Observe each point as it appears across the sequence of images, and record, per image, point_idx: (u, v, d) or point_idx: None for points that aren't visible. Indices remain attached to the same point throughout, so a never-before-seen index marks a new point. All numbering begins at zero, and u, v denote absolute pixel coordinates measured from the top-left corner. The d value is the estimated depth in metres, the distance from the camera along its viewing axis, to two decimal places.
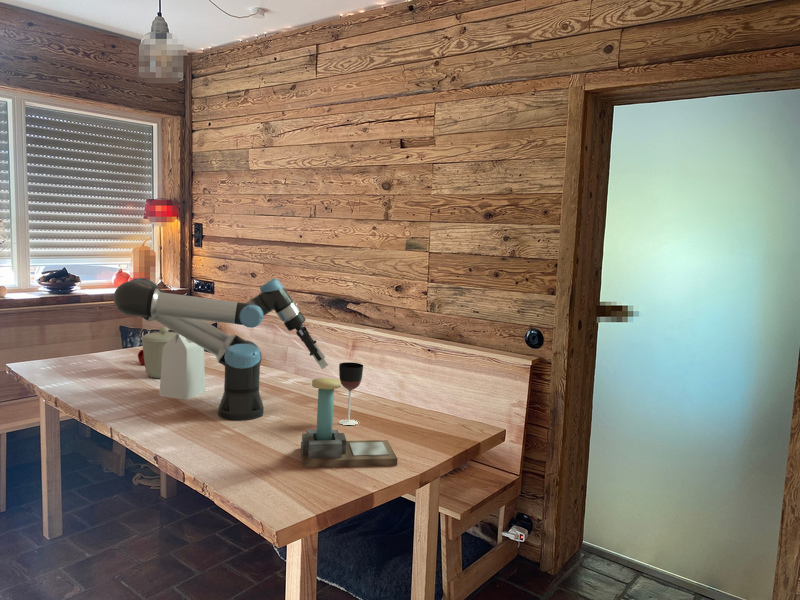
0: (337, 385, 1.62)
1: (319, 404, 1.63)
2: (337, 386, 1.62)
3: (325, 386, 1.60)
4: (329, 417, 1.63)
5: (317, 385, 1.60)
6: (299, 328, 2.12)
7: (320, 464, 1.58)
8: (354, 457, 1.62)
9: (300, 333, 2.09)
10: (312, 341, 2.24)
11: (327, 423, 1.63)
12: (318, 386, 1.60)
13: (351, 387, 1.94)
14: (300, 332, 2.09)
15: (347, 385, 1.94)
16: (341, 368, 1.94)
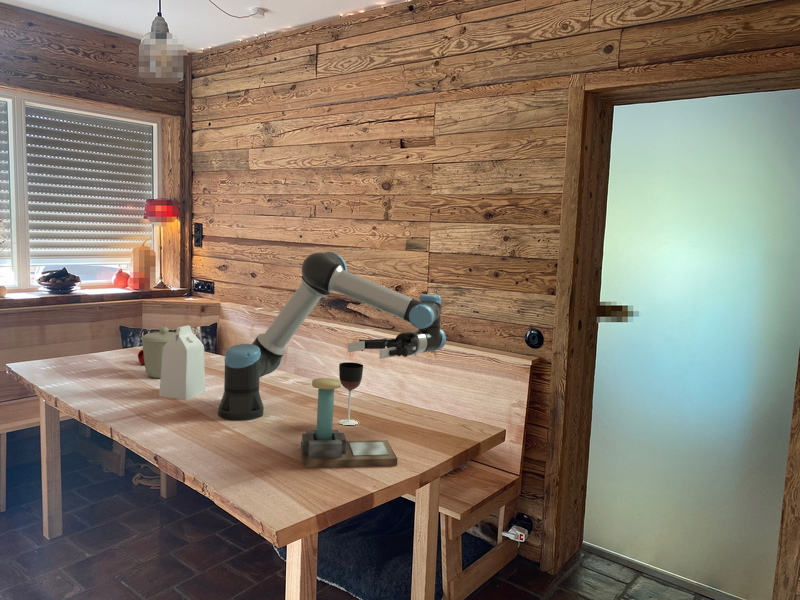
0: (337, 385, 1.62)
1: (319, 404, 1.63)
2: (337, 386, 1.62)
3: (325, 386, 1.60)
4: (329, 417, 1.63)
5: (317, 385, 1.60)
6: None
7: (320, 464, 1.58)
8: (354, 457, 1.62)
9: (414, 347, 1.83)
10: (368, 347, 1.86)
11: (327, 423, 1.63)
12: (318, 386, 1.60)
13: (351, 387, 1.94)
14: (414, 347, 1.83)
15: (347, 385, 1.94)
16: (341, 368, 1.94)
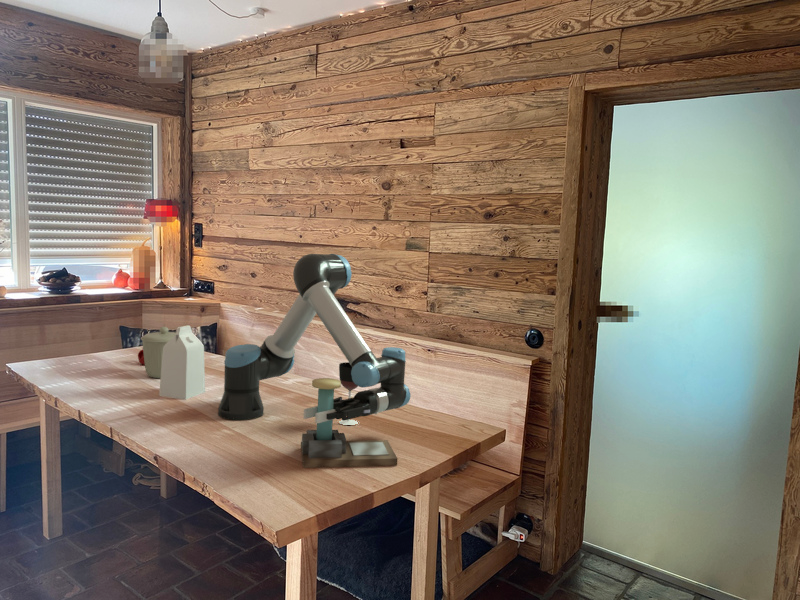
0: (337, 385, 1.62)
1: (319, 404, 1.63)
2: (337, 386, 1.62)
3: (325, 386, 1.60)
4: None
5: (317, 385, 1.60)
6: None
7: (320, 464, 1.58)
8: (354, 457, 1.62)
9: (367, 410, 1.68)
10: None
11: (327, 423, 1.63)
12: (318, 386, 1.60)
13: (351, 387, 1.94)
14: (368, 410, 1.68)
15: (347, 385, 1.94)
16: (341, 368, 1.94)
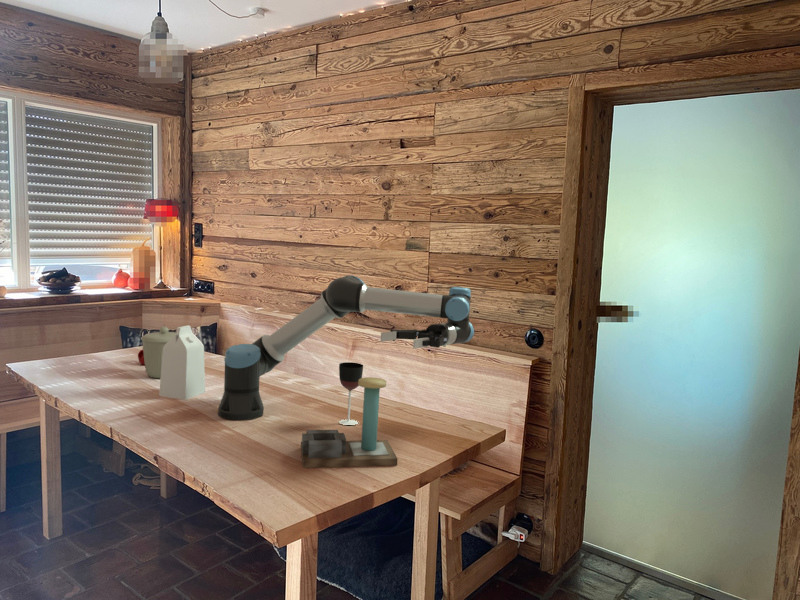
0: (383, 384, 1.64)
1: (365, 403, 1.66)
2: (383, 385, 1.64)
3: (372, 385, 1.63)
4: (375, 416, 1.66)
5: (364, 384, 1.63)
6: None
7: (320, 464, 1.58)
8: (354, 457, 1.62)
9: (445, 338, 1.86)
10: (399, 337, 1.90)
11: (373, 422, 1.66)
12: (365, 385, 1.63)
13: (351, 387, 1.94)
14: (446, 338, 1.86)
15: (347, 385, 1.94)
16: (341, 368, 1.94)
